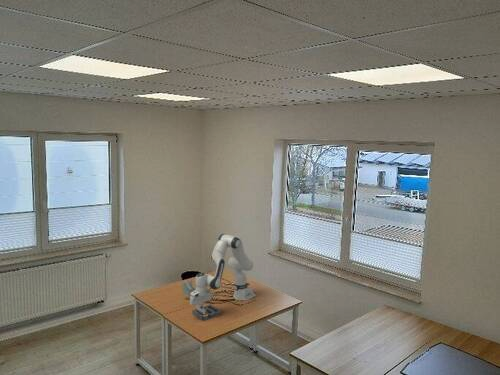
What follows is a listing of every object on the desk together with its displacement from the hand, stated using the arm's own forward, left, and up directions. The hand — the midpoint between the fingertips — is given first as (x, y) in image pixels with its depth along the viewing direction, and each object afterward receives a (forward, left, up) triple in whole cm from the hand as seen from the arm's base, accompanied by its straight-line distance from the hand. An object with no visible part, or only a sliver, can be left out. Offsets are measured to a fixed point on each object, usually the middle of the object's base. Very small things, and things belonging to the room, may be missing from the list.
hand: (200, 307), depth 333 cm
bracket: (-12, -29, -8) cm, 32 cm away
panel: (0, 0, -7) cm, 7 cm away
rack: (-6, 0, -8) cm, 10 cm away
